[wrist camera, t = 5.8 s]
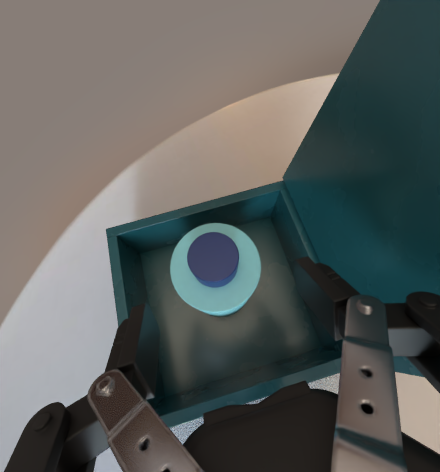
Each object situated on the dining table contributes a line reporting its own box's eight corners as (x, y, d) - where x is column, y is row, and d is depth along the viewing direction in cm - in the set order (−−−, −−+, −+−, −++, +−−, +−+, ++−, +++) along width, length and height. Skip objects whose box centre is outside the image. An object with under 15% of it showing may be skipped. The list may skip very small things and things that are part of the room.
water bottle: (199, 324, 22) (172, 324, 12) (186, 267, 24) (152, 224, 14) (258, 307, 22) (281, 292, 12) (239, 251, 24) (246, 197, 14)
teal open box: (160, 407, 21) (132, 440, 15) (134, 250, 26) (105, 229, 20) (330, 352, 22) (368, 363, 16) (273, 211, 26) (285, 179, 21)
